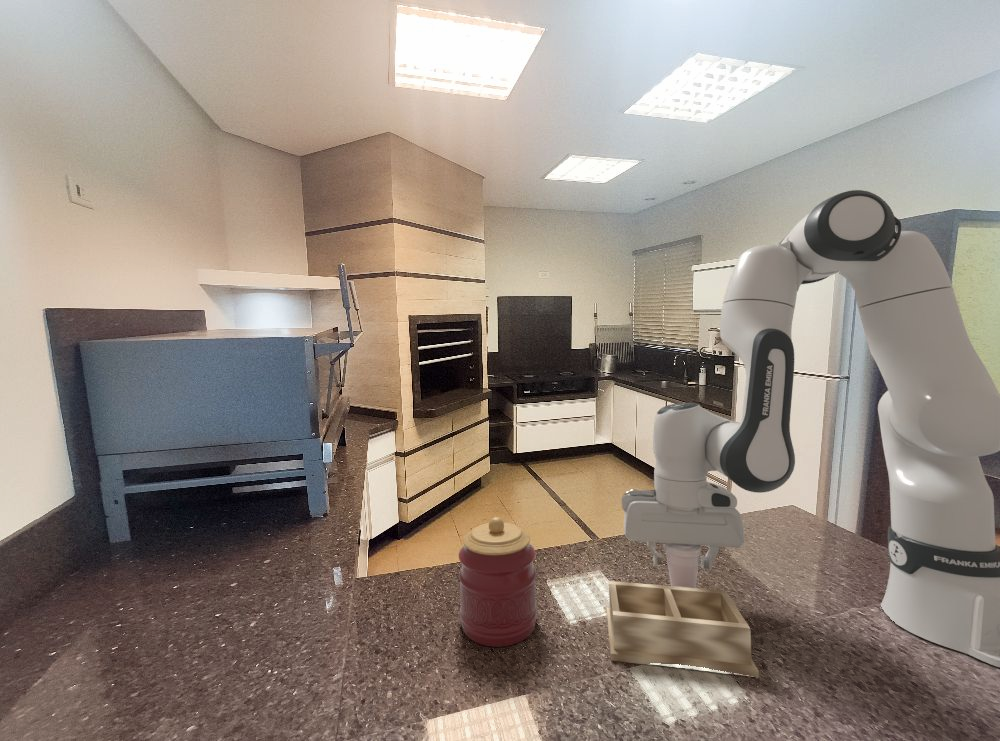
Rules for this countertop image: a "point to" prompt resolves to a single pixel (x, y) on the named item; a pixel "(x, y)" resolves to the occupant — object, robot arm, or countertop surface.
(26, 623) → the countertop surface
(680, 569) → the smoothie
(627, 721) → the countertop surface
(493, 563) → the canister
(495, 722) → the countertop surface
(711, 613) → the wooden divided tray
